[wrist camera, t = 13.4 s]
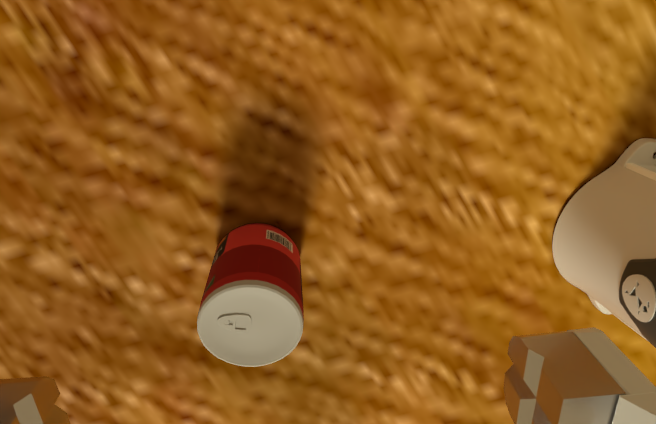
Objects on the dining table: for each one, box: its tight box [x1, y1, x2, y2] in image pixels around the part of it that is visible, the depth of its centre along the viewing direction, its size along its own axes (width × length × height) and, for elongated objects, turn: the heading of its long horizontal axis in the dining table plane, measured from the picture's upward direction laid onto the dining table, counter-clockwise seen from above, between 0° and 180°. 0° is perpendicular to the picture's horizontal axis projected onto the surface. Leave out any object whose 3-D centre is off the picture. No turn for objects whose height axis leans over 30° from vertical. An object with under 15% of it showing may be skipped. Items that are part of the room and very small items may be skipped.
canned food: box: [197, 223, 304, 367], centre depth 41 cm, size 8×8×11 cm
